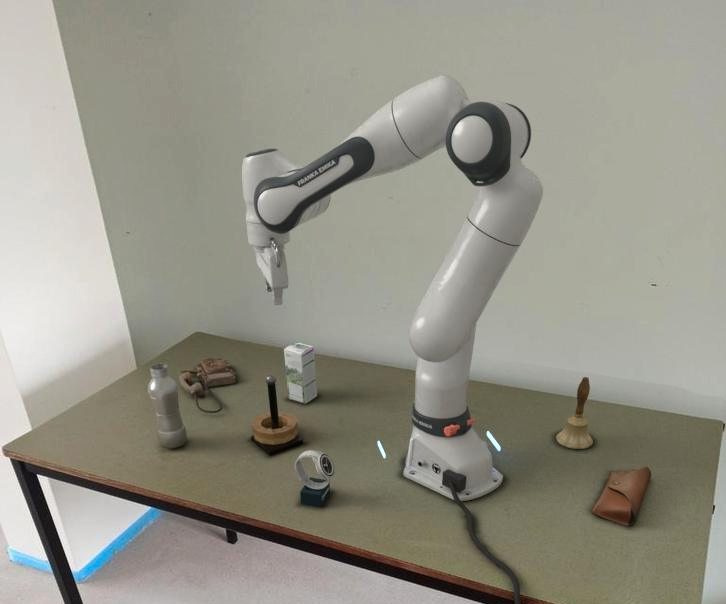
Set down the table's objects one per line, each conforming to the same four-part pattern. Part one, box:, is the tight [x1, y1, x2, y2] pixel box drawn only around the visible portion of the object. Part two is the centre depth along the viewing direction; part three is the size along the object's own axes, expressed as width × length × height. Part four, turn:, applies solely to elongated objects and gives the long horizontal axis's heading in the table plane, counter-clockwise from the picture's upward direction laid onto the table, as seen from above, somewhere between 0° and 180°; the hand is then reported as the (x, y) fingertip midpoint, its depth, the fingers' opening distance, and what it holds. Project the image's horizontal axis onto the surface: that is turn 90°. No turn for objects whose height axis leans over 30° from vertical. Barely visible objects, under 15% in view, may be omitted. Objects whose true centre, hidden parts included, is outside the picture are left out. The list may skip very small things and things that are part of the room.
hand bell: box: [555, 376, 594, 450], centre depth 153 cm, size 8×8×16 cm
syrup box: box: [283, 341, 318, 405], centre depth 174 cm, size 6×6×14 cm
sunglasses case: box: [591, 466, 652, 527], centre depth 136 cm, size 18×7×7 cm
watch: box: [293, 449, 335, 509], centre depth 136 cm, size 6×8×11 cm
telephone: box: [178, 357, 237, 414], centre depth 182 cm, size 15×33×4 cm, turn 23°
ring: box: [251, 411, 299, 445], centre depth 159 cm, size 11×11×3 cm
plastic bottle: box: [147, 362, 188, 449], centre depth 153 cm, size 6×7×20 cm
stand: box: [250, 374, 304, 457], centre depth 154 cm, size 9×9×17 cm
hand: (274, 297), depth 149 cm, fingers open, 8 cm apart
